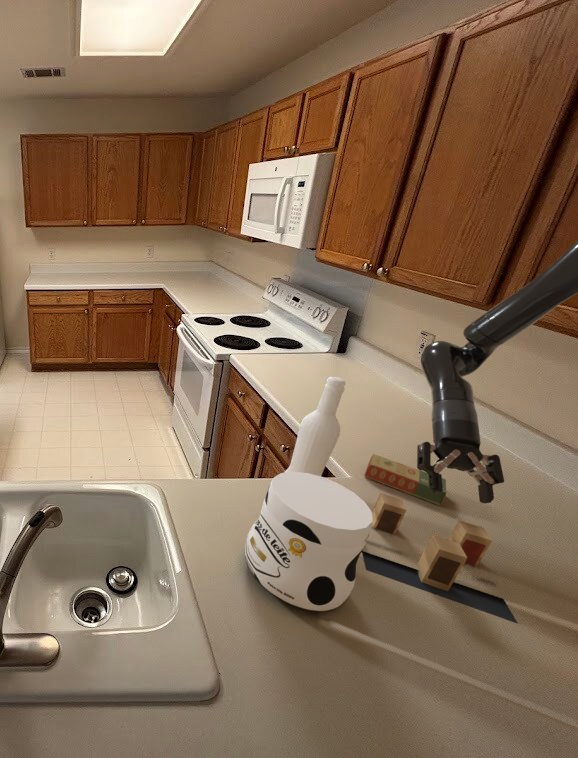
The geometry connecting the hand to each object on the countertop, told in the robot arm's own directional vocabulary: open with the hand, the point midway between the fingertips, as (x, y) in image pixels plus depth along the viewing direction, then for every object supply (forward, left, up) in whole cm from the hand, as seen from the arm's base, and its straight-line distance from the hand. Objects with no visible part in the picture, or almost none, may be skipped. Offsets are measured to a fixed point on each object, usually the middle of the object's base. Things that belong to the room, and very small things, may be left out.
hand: (461, 497), depth 85 cm
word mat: (+6, +17, -11) cm, 21 cm away
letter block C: (-1, +7, -11) cm, 13 cm away
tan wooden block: (+12, +5, -11) cm, 17 cm away
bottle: (+28, -1, -11) cm, 30 cm away
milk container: (+30, +30, -11) cm, 43 cm away
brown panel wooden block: (+6, +17, -10) cm, 20 cm away
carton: (+3, -20, -11) cm, 23 cm away
